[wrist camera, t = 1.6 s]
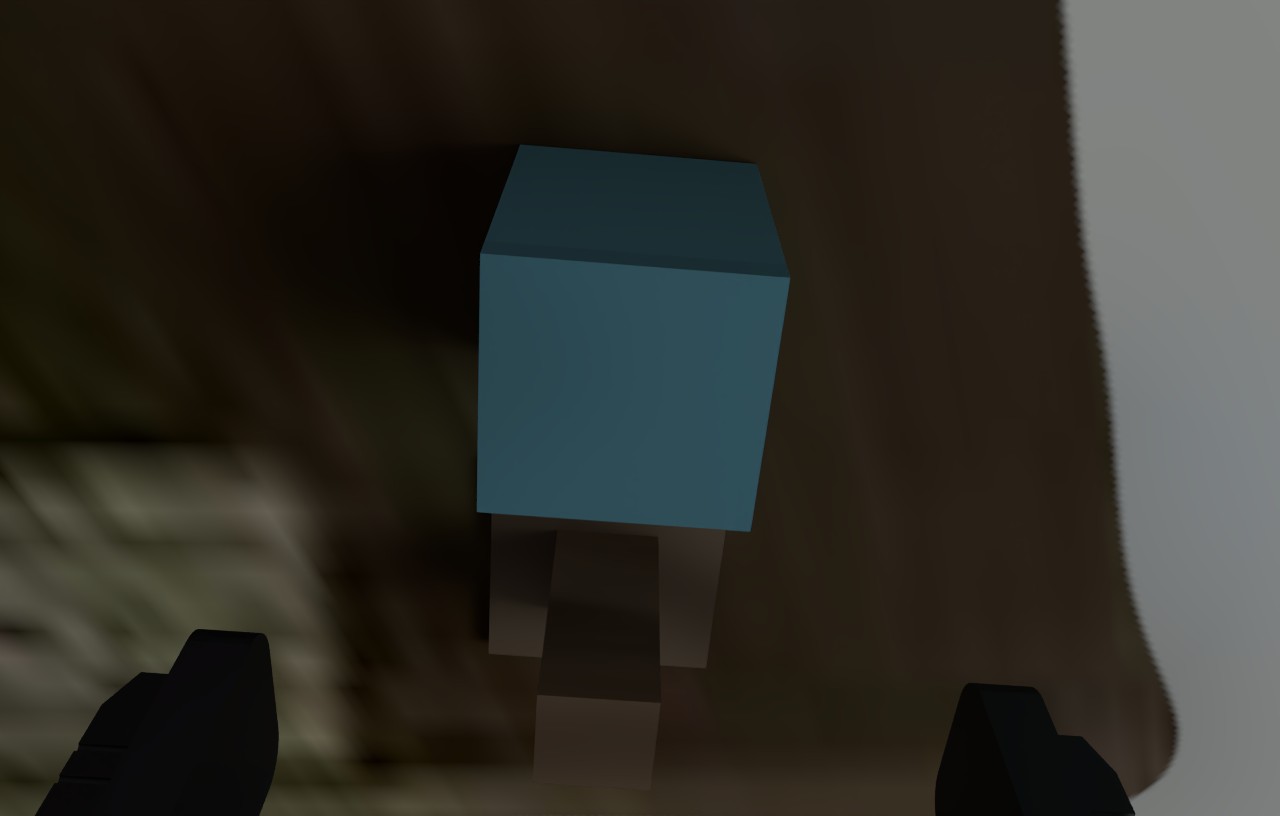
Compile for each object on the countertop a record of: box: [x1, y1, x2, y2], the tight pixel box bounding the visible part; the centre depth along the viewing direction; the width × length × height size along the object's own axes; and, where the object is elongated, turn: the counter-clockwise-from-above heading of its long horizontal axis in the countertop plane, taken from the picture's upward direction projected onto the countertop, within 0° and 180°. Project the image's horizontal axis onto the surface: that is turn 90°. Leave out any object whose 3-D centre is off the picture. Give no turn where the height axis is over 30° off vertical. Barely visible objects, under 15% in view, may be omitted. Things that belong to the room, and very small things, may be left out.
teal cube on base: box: [477, 145, 790, 532], centre depth 23 cm, size 5×5×7 cm
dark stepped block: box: [489, 513, 726, 791], centre depth 27 cm, size 6×6×6 cm
